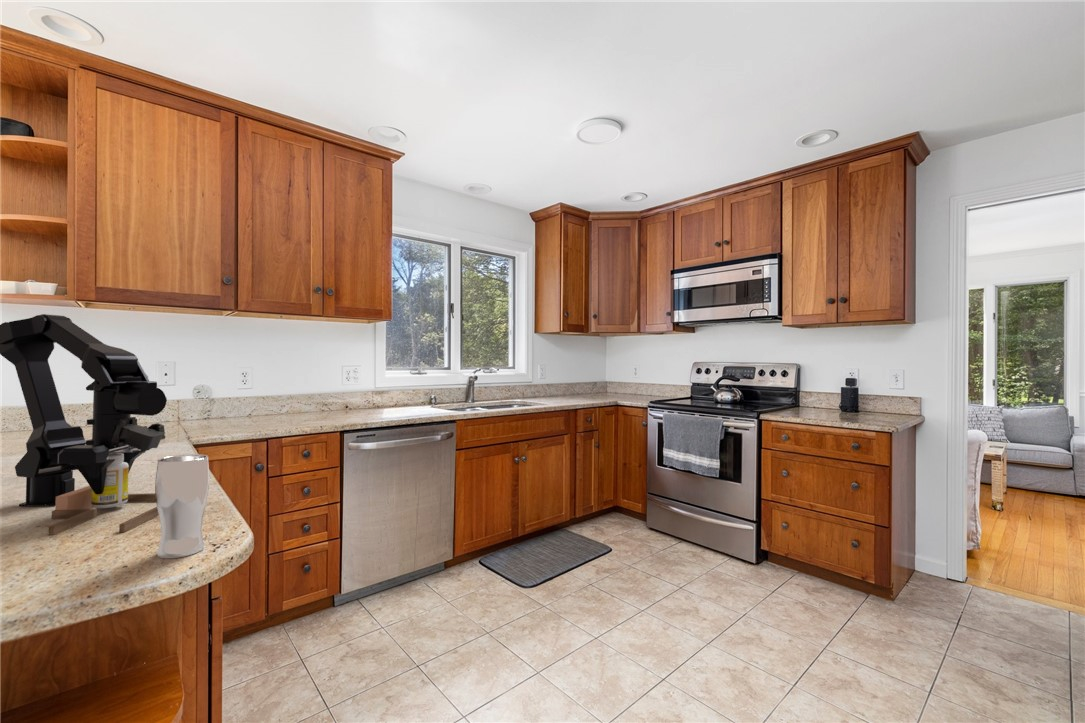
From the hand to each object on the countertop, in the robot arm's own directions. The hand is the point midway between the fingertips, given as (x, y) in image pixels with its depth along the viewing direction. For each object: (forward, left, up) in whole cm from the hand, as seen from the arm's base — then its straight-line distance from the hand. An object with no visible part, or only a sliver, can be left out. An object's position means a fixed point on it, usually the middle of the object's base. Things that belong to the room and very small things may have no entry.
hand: (109, 490), depth 98 cm
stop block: (-5, 0, -4) cm, 6 cm away
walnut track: (+3, -5, -4) cm, 7 cm away
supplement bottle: (0, 0, -3) cm, 3 cm away
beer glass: (+26, -25, -4) cm, 36 cm away
